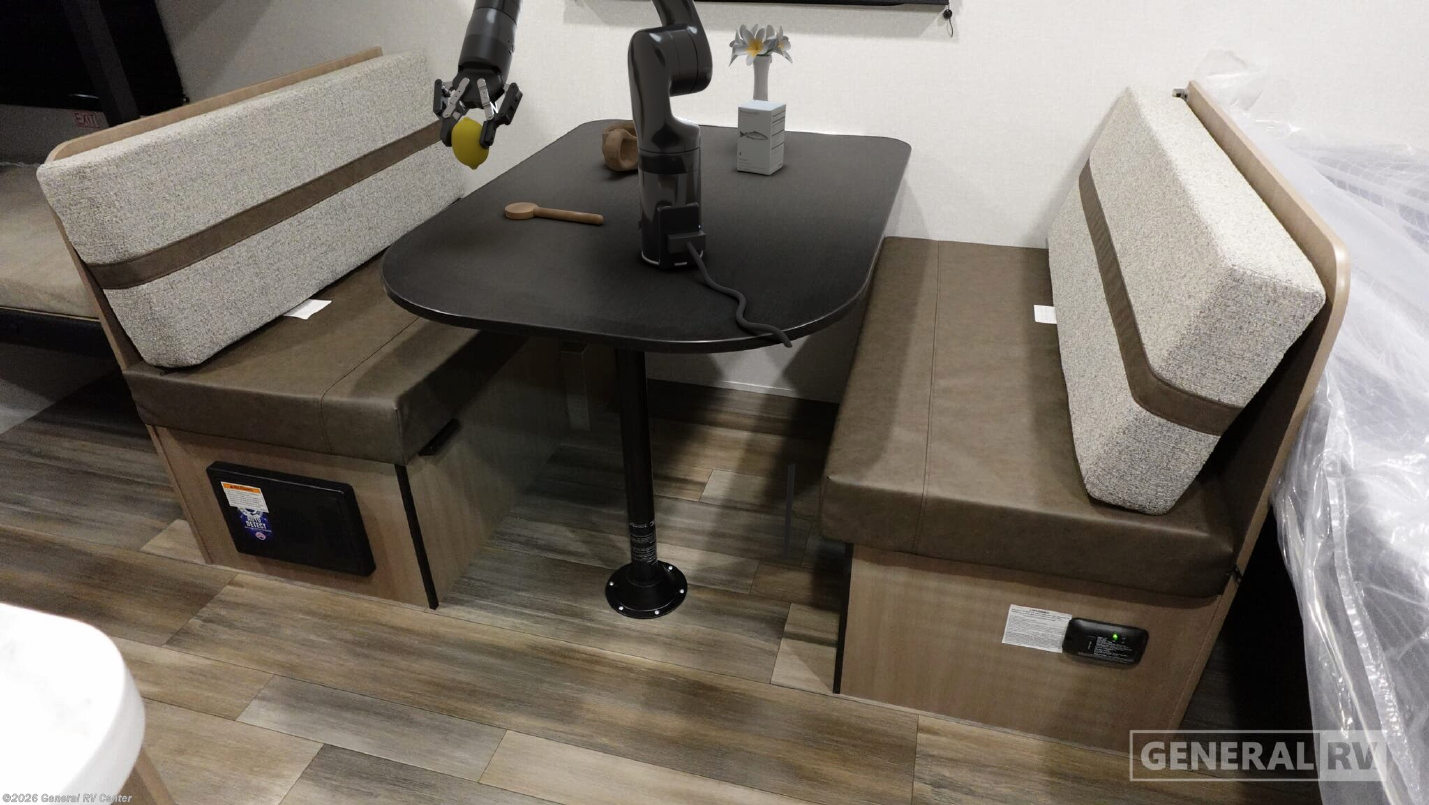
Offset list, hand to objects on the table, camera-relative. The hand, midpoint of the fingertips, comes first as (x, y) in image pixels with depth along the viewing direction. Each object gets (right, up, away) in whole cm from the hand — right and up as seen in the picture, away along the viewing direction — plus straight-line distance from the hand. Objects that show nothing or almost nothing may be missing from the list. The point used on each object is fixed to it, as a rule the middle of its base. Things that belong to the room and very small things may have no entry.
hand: (465, 145), depth 133 cm
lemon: (0, -3, +4) cm, 5 cm away
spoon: (+10, -7, +19) cm, 23 cm away
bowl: (+21, +8, +45) cm, 51 cm away
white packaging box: (+47, +8, +45) cm, 65 cm away
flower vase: (+47, +16, +58) cm, 76 cm away
